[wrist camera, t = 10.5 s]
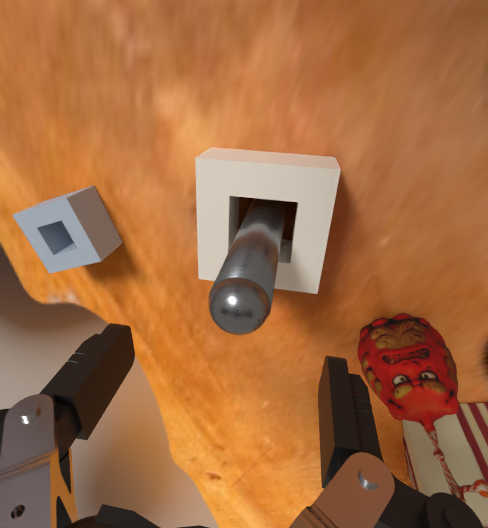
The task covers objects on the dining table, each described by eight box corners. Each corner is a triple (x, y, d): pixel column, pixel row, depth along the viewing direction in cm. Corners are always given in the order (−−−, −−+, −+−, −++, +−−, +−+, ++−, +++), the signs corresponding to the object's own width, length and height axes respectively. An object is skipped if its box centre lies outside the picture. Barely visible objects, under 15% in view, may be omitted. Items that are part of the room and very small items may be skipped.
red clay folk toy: (428, 300, 30) (521, 462, 17) (444, 354, 33) (536, 531, 20) (346, 321, 33) (374, 476, 20) (367, 370, 35) (404, 535, 22)
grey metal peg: (250, 192, 28) (199, 289, 14) (287, 195, 27) (270, 299, 14) (248, 226, 29) (200, 343, 16) (283, 230, 29) (265, 353, 16)
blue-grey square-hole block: (44, 201, 32) (12, 215, 28) (94, 185, 30) (66, 198, 27) (75, 254, 34) (49, 273, 31) (123, 242, 32) (101, 261, 29)
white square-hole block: (211, 147, 27) (195, 157, 23) (335, 157, 25) (340, 169, 22) (211, 255, 31) (198, 278, 28) (315, 267, 30) (317, 293, 26)
